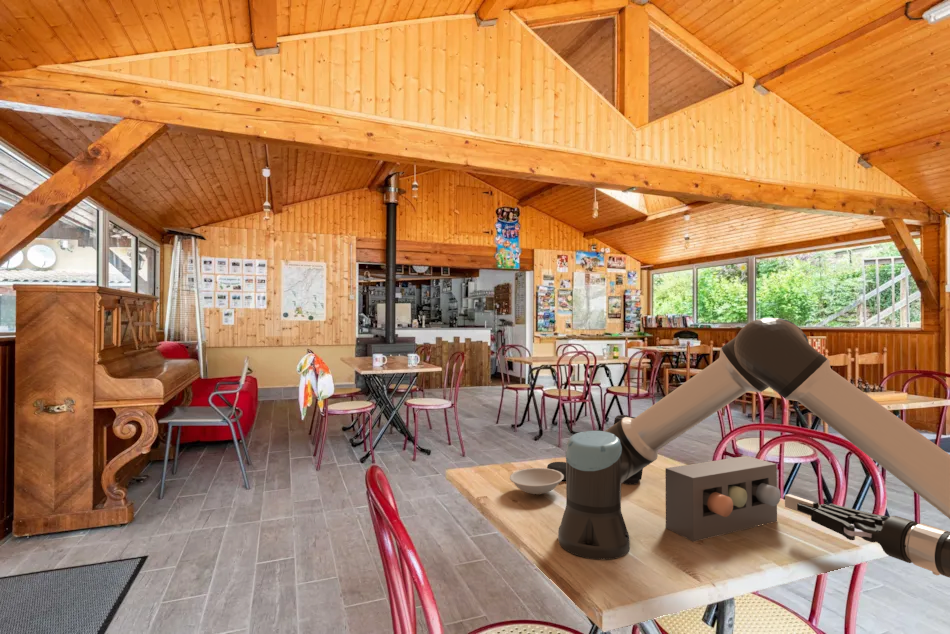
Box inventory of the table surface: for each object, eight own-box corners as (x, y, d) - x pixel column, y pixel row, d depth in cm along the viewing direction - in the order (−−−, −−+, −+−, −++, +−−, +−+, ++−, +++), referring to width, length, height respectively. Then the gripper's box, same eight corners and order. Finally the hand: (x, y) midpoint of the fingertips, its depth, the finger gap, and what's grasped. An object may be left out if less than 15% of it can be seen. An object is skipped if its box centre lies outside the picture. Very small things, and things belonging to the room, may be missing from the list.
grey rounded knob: (768, 507, 111) (768, 488, 111) (744, 498, 117) (744, 480, 117) (780, 504, 113) (780, 485, 113) (756, 496, 119) (756, 478, 119)
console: (693, 541, 106) (693, 477, 107) (665, 527, 114) (665, 468, 114) (777, 521, 118) (776, 463, 118) (747, 510, 125) (746, 455, 125)
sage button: (734, 508, 110) (734, 489, 111) (711, 500, 116) (711, 481, 116) (747, 505, 112) (747, 486, 112) (724, 497, 118) (724, 479, 118)
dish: (530, 481, 148) (530, 464, 148) (573, 490, 139) (573, 473, 139) (498, 497, 134) (498, 479, 134) (543, 509, 125) (543, 489, 125)
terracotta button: (719, 518, 105) (719, 498, 105) (696, 508, 110) (696, 489, 110) (733, 515, 107) (733, 495, 107) (710, 505, 112) (710, 486, 112)
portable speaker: (613, 475, 154) (613, 413, 155) (644, 478, 151) (643, 415, 151) (611, 483, 146) (611, 418, 147) (643, 486, 143) (643, 420, 143)
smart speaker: (578, 475, 154) (578, 463, 154) (571, 484, 146) (571, 470, 146) (551, 472, 158) (551, 459, 158) (543, 479, 150) (543, 466, 150)
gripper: (895, 571, 85) (768, 521, 107) (934, 557, 90) (805, 512, 112) (895, 528, 85) (767, 487, 107) (934, 517, 91) (805, 480, 112)
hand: (787, 500), depth 109 cm, fingers closed
